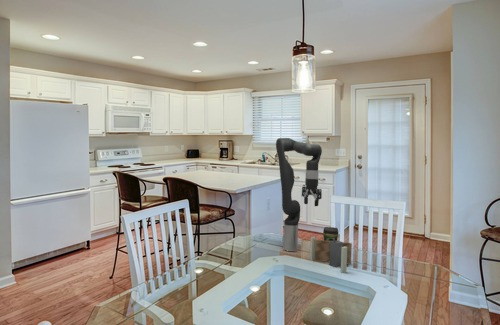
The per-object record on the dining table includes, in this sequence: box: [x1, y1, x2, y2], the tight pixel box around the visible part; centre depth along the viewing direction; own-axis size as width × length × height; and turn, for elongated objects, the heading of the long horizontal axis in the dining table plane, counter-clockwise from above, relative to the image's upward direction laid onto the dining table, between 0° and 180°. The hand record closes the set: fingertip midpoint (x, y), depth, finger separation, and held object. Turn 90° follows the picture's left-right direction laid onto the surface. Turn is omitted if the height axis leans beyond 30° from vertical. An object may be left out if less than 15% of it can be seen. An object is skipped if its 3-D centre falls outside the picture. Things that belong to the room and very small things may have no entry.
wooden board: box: [309, 236, 348, 274], centre depth 192 cm, size 25×3×14 cm, turn 34°
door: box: [314, 239, 352, 265], centre depth 198 cm, size 21×1×12 cm, turn 73°
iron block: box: [328, 239, 344, 268], centre depth 193 cm, size 5×5×14 cm
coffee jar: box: [322, 226, 339, 241], centre depth 210 cm, size 10×8×19 cm
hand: (311, 205), depth 198 cm, fingers open, 8 cm apart
